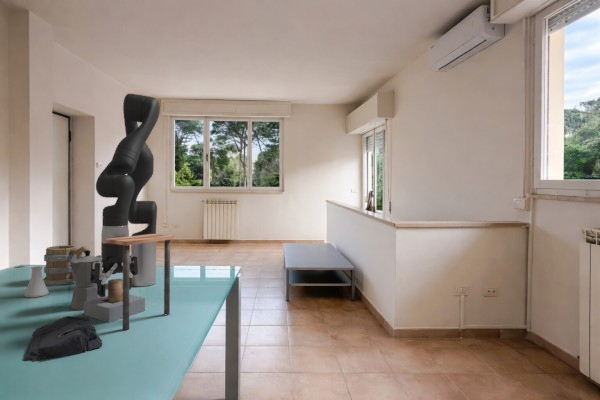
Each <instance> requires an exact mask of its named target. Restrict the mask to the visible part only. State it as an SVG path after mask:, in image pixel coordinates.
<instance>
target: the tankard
mask: <svg viewBox="0 0 600 400" xmlns="http://www.w3.org/2000/svg"><path fill="white" fill-rule="evenodd" d="M86 250H89V249H88V248H87V247H86V246H81V247H79V248H78V246H77V245H71V244H69V245H67V244H66V245H54V246H49V247H46V249H45V254H44V255H43V261H44V262H45V266H44V267H43V273H44V274H45V277H43V280H44V283H45V285H46V286H64V285H69V284H70V285H71V284H75V281H74V280H73V274H72V268H71V267H70V266H69V265H68V264H69V263H70V261H71V260H74V259H77V258H80V257H83V254H85V251H86Z"/></svg>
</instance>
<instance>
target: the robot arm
mask: <svg viewBox="0 0 600 400" xmlns="http://www.w3.org/2000/svg"><path fill="white" fill-rule="evenodd" d="M159 101H160V100H158V99H157V98H155V97H153V96H149V95H144V94H143V95H142V94H137V93H127V94H125V96H124V99H123V105H122V111H123V119H124V129H125V130H124V131H125V137H124V138H122V139H121V141H119V142H118V144H117V146H116V147H115V150H114V153H113V156H112V158H111V160H110V162H109V163H108V164H107V165H106V167H105V168H104V169H103V170H102V171H101V172H100V174H99V176H98V177H97V179H96V181H95V190H96V193H97V194H98V195H99V196H100V197H102V198H109V199H110V198H113V199H115V198H116V201H115V203H114V204H110V205H107V206H104V207H103V209H102V227H101V237H100V238H101V239H100V241H101V242H100V243H101V247H100V249H101V250H100V251H101V252H100V253H101V254H100V255H102V261H101V262H92V263H91V274H90V282H91V283H96V284H97V294H98V295H99V296H100V297H105V296H106V285H107V284H106V282H107V280H108V279H109V278H110V277H111V276H112V275H116V274H123V245H119V244H111V243H105V239H111V238H120V237H129V236H130V231H129V223H130V224H131V225H147V226H146V227H145V228H144V229H142V230H139V231H137V232H134V233H132V234H131V236H138V235H147V234H157V220H158V219H157V217H158V205H157V203H156V202H155V201H154V200H137V199H138V196H139V195H140V192H141V191H142V189H144V187H145V186H146V185H147V183H148V182H149V181H150V179H151V178H152V177H153V175H154V159H155V158H154V154H153V152H152V150H151V148H150V147H149V145H148V144H147V142H146V141H148V138H149V137H150V136H151V134H152V132H153V129H154V128H155V125H157V122H158V121H159V120H158V119H159V116H160V111H161V110H160V109H161V108H160V107H161V105H160V102H159ZM139 123H140V124H139ZM138 124H139V125H138ZM101 266H102V271H101V272H100V269H101ZM106 272H107V273H106ZM105 273H106V274H105ZM156 281H157V241H156V242H149V243H141V244H134V245H130V273H129V291H130V290H131V289H132V287H148V286H152V285H155V284H156Z"/></svg>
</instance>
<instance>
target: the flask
mask: <svg viewBox="0 0 600 400" xmlns="http://www.w3.org/2000/svg"><path fill="white" fill-rule="evenodd" d="M30 269H31V276H30V280H29V282H28V285H27V287H26V289H25V292H24V294H23V296H24V298H40V297H44V296H48V295H50V292H49V290H48V287H47V285H45V283H44V280H43V279H44V277H43V274H42V269H43V266H41V265H40V266H38V265H37V266H31V268H30Z"/></svg>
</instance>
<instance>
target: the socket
mask: <svg viewBox="0 0 600 400" xmlns="http://www.w3.org/2000/svg"><path fill="white" fill-rule="evenodd" d="M145 311H146V298H145V297H141V296H137V295H134V294H129V317H130V316H133V315H136V314H139V313H142V312H145ZM83 316H85V317H88V318H89V317H90V318H93V319H96V320H100V321H103V322H106V323H112V322H114V321H115V322H116V321H118V320H121V319H123V301H120V302H117V303H113V304H112V303H108V295H105V297H101V298H97V299H93V300H89V301H85V302H84V310H83Z"/></svg>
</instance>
